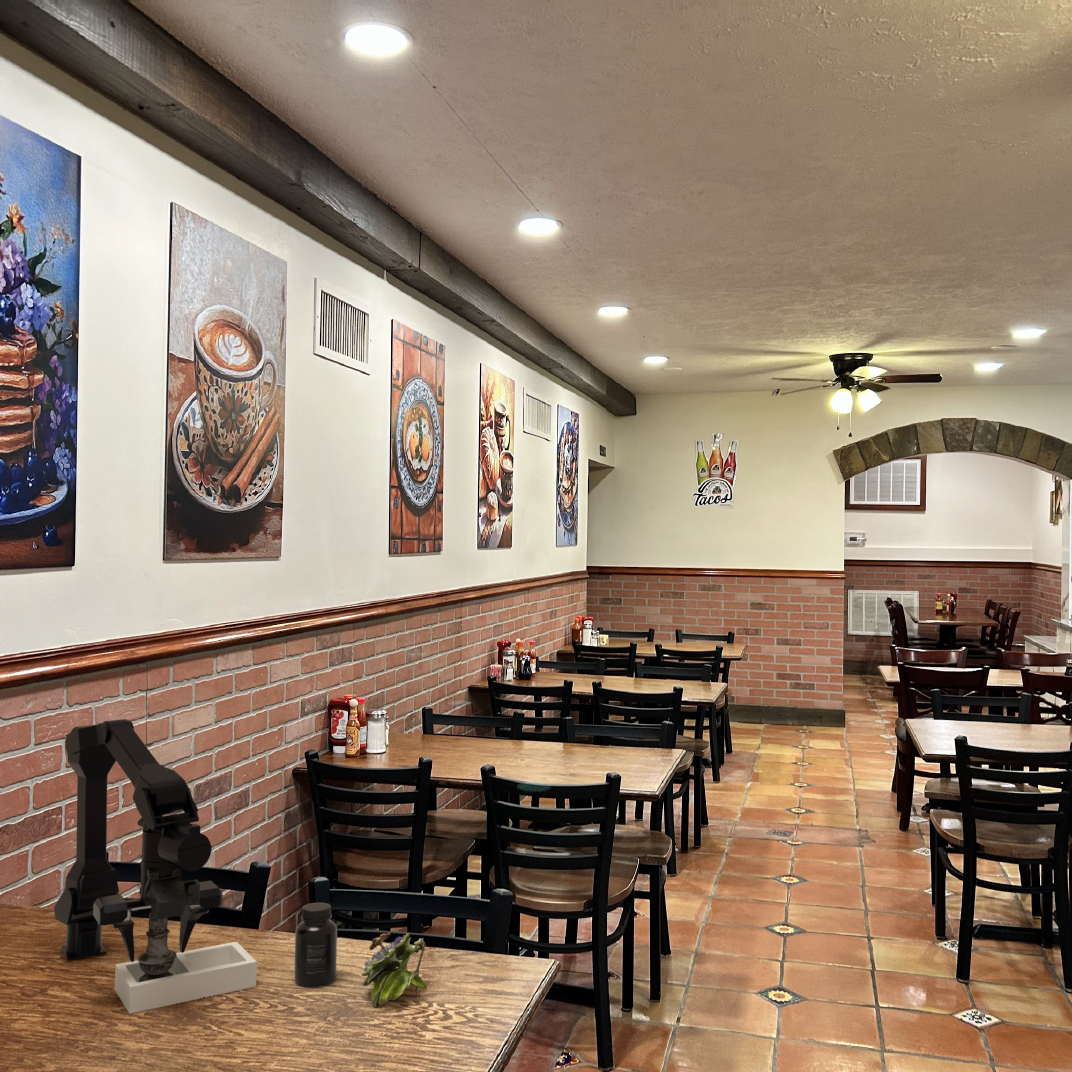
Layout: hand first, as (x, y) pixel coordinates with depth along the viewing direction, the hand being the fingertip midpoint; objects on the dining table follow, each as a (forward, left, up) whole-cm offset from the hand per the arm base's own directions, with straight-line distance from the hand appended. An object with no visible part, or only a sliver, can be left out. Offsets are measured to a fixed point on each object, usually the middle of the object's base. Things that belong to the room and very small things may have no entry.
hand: (157, 956), depth 162 cm
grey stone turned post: (0, 0, -4) cm, 4 cm away
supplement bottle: (+8, +24, -6) cm, 26 cm away
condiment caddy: (0, +5, -6) cm, 7 cm away
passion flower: (+20, +33, -6) cm, 39 cm away
